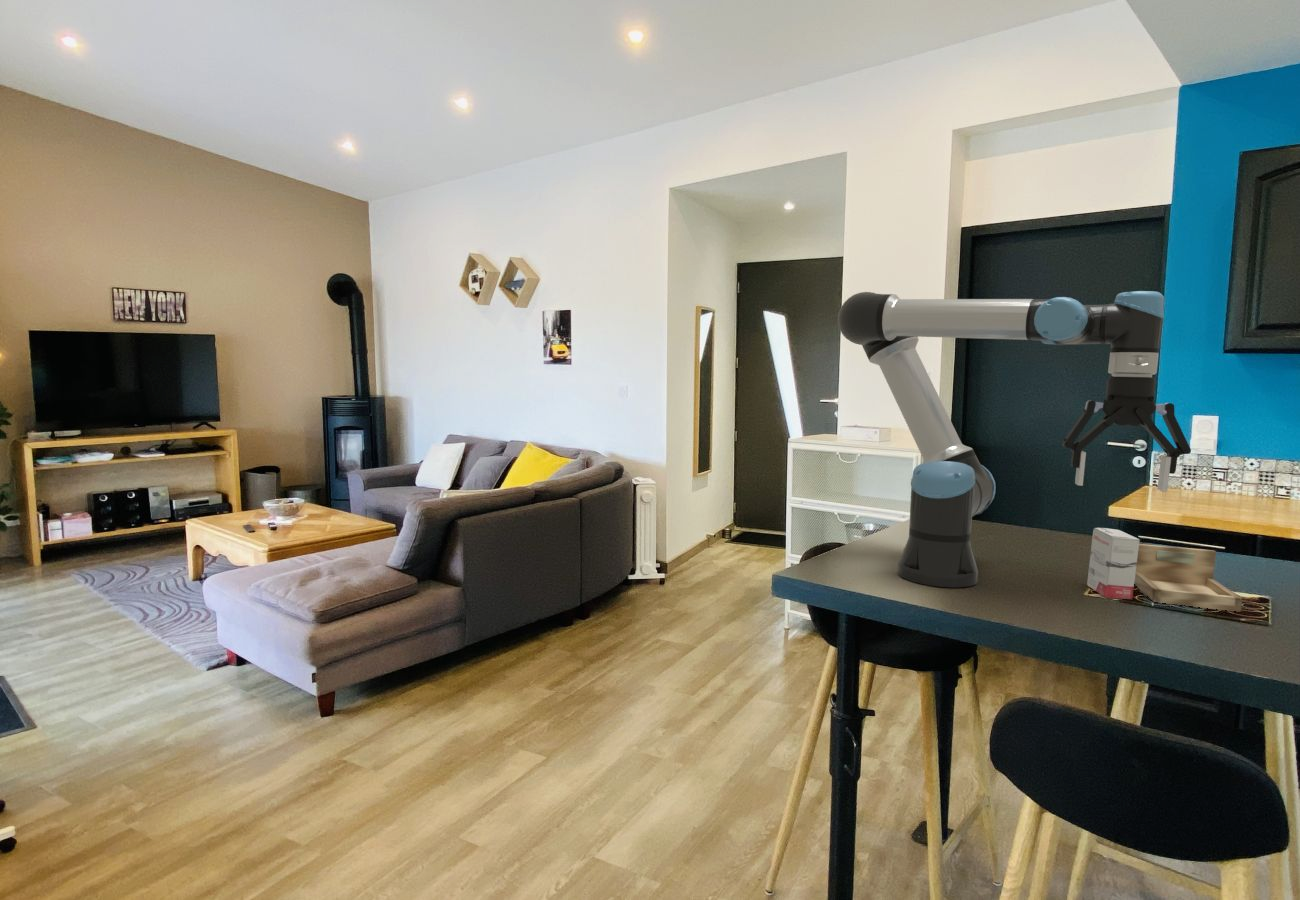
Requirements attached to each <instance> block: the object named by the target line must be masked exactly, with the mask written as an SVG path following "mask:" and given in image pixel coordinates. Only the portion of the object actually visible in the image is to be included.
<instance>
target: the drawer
mask: <svg viewBox="0 0 1300 900" xmlns="http://www.w3.org/2000/svg"><path fill="white" fill-rule="evenodd" d="M1216 555H1217V551H1216V550H1214V549H1203V548H1194V547H1193V548H1192V547H1190V548H1189V547H1180V546H1168V545H1155V544H1145V543H1139V549H1138V557H1137V565H1136V573H1135V582H1134V584H1135V585H1136V586H1137V587H1138V588H1139V589H1138V588H1137V587H1136V586H1135V585H1134V586H1135V587H1136V588H1137V589H1138V590H1139V591H1141V593H1143V595H1144V596H1146V597H1147V596H1148V597H1149V598H1150V599H1151V600H1152V601H1153V602H1158V603H1157V604H1162V603H1166V604H1165V605H1171V604H1177V605H1176V606H1180V605H1185V606H1184V607H1189V606H1193V607H1192V608H1198V607H1200V609H1207V608H1208V610H1216V609H1217V610H1218V611H1225V610H1227V611H1226V612H1234V611H1236V613H1241V612H1242V605H1243V604H1242V603H1243V598H1242V597H1240V596H1239V595H1237V594H1236V593H1235V592H1233V591H1232V590H1231V589H1229V588H1228V587H1225V585H1223V584H1221V583H1220V582H1219V581H1217V580H1215V579H1214V574H1215V563H1216ZM1148 597H1147V598H1148ZM1149 598H1148V599H1149ZM1150 599H1149V600H1150ZM1151 600H1150V601H1151ZM1152 601H1151V602H1152ZM1153 602H1152V603H1153Z"/></svg>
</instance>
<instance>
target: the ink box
mask: <svg viewBox="0 0 1300 900" xmlns="http://www.w3.org/2000/svg"><path fill="white" fill-rule="evenodd" d="M1091 538H1092V539H1091V547H1090V555H1089V565H1088V572H1087V573H1088V575H1087V580H1086V581H1087V583H1086V585H1087V587H1089V588H1091V589H1092V590H1093V591H1095V592H1097V593H1098V594H1100V595H1101V596H1102V597H1104V598H1106V599H1107V598H1108V599H1122V600H1133V597H1134V591H1135V590H1134V587H1135V585H1134V582H1135V573H1136V565H1137V557H1138V549H1139V544H1140V541H1141V540H1140V538H1137V537H1135V536H1133V535H1131V534H1128V533H1127V532H1124V531H1122V530H1120V529H1114V528H1108V527H1094V528H1093V531H1092V537H1091Z"/></svg>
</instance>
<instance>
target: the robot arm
mask: <svg viewBox="0 0 1300 900" xmlns="http://www.w3.org/2000/svg"><path fill="white" fill-rule="evenodd" d="M1164 305H1165V297H1164V295H1163V294H1162V293H1161V292H1159V291H1153V290H1151V291H1150V290H1148V291H1147V290H1146V291H1145V290H1136V291H1125V292H1120V293H1118V294H1117V295H1116V296H1115V299H1114V301H1113V303H1109V304H1108V303H1107V304H1106V303H1105V304H1082V303H1081V302H1080V301H1079V300H1077V299H1074V298H1072V297H1067V296H1056V297H1053V298H1039V299H1038V298H1035V299H1033V298H951V299H950V298H942V299H941V298H935V299H934V298H933V299H932V298H930V299H929V298H928V299H927V298H910V299H908V298H906V299H904V298H900V297H899V296H898V295H897V294H893V293H892V294H891V293H887V294H886V293H875V292H871V291H863V292H861V291H860V292H858V293H856V294H853V295H851V296H850V297H848V298H847V299H846V300H845V301H844V303H843V304H842V305H841V306H840V308H839V309H840V310H839V311H838V316H837V325H838V328H839V329H838V330H839V331H840V333H841V334H842V336H843V337H844V338H845V339H847V340H848V341H849V342H850V343H852V344H855V345H861V346H862V348H863V351H864V353H865V355H866V357H867V359H868V361H869V363H871V364H873V365H876V366H879V369H880V370H881V372H882V375H883V377H884V379H885V381H886V383H887V386H888V387H889V389H890V392H891V393H892V395H893V398H894V400H895V402H896V404H897V406H898V408H899V411H900V412H901V415H902V417H903V419H904V421H905V423H906V426H907V427H908V430H909V431H910V435H911V436H912V438H913V440H914V441H915V445H916V446H917V448H918V451H919V452H920V454H921V457H922V459H923V461H922V463H920V464H918V465H917V466H915V467H914V469H913V470H912V478H911V480H910V488H911V489H910V490H911V491H910V508H909V510H910V512H909V528H908V529H909V531H908V532H909V533H908V539H907V541H906V543H905V546H904V548H903V551H902V553H901V556H900V558H899V561H898V566H897V572H898V573H897V574H898V575H899V576H900V577H902V578H903V579H906V580H908V581H909V582H914V583H918V584H922V585H926V586H931V587H938V588H939V587H940V588H968V587H972V586H975V585H976V584H977V583H978V581H979V569H978V567H977V563H976V560H975V557H974V553H973V549H972V545H971V535H972V521H973V517H975V516H977V515H980V514H982V513H983V512H984V511H986V510H987V509H988V507H989V506H990V505H991V503H992V502H993V500H994V499H995V495H996V481H995V478H994V477H993V474H992V473H991V472H990V470H989V469H987V467H985V466H984V465H982V464H981V463H980V461H979V459H978V457H977V454H976V453H975V451H974V449H973V448H972V447H970V446H967V445H965V444H963V443H962V440H961V439H960V437H959V434H958V433H957V431H956V429H955V427H954V424H953V423H952V420H951V419H950V417H949V415H948V412H947V411H946V408H945V406H944V405H943V402H942V399H941V398H940V396H939V394H938V392H937V390H936V388H935V386H934V384H933V382H932V380H931V378H930V376H929V374H928V372H927V369H926V368H925V365H924V363H923V361H922V360H921V357H920V355H919V353H918V350H917V349H916V348H917V345H918V342H919V337H920V338H924V337H925V338H948V339H949V338H955V339H958V338H959V339H990V340H991V339H992V340H993V339H994V340H1019V341H1020V340H1021V341H1022V340H1023V341H1024V340H1025V341H1029V340H1030V341H1040V342H1041V343H1042V344H1045V345H1055V346H1063V345H1098V344H1099V345H1110V350H1109V351H1110V352H1109V360H1108V368H1107V373H1108V374H1109V375H1110V374H1111V376H1108V378H1107V380H1106V388H1105V398H1104V400H1103V402H1100V401H1095V400H1093V399H1092V400H1091V399H1088V400H1086V401H1085V403H1084V407H1083V411H1082V413H1080V415H1079V416H1078V418H1077V420H1076V421H1075V423H1074V424H1073V426H1072V427H1071V428H1070V429H1069V431H1068V433H1067V435H1065V437H1064V438H1063V440H1062V442H1061V445H1062V447H1065V448H1067V449H1070V450H1071V459H1070V460H1071V461H1070V465H1071V467H1072V468H1075V470H1076V471H1075V478H1074V484H1075V485H1076V486H1081V487H1082V486H1084V477H1085V468H1086V457H1087V452H1086V451H1083V449H1084V448H1086V447H1087V446H1089V444H1091V443H1092V442H1093V441H1094V440H1095V439H1096V438H1097V437H1098V436H1100V434H1103V432H1104V431H1105V430H1106V429H1108V428H1109V427H1110V426H1112V425H1116V426H1131V427H1139V426H1141V427H1143V428H1144V429H1145V430H1146V431H1147V433H1148V434H1149V435H1150V436H1151V438H1152V439H1153V440H1154V441H1155V442H1156V443H1157V445H1159V447H1160V448H1161V449H1162V450H1163V452H1164V453H1165V454H1166V455H1165V454H1164V455H1163V454H1162V455H1160V463H1159V471H1158V478H1157V480H1158V481H1157V490H1158V491H1160V492H1164V493H1165V492H1166V493H1167V492H1168V489H1169V479H1170V474H1173V475H1175V473H1176V472H1177V471H1176V470H1177V465H1178V464H1177V463H1178V458H1179V457H1180V456H1182V455H1188V454H1191V451H1192V449H1191V448H1190V445H1189V443H1188V441H1187V439H1186V436H1185V435H1184V433H1183V430H1182V428H1181V426H1180V424H1179V422H1178V420H1177V417H1176V415H1175V404H1174V403H1171V402H1164V403H1158V404H1157V403H1155V393H1156V383H1157V379H1156V378H1155V377H1153V375H1156V374H1157V373H1158V365H1159V352H1160V347H1161V337H1162V331H1163V323H1164V311H1165V310H1164V308H1165V306H1164ZM1100 409H1101V410H1102V411H1103V413H1104V414H1105V415H1104V416H1103V417H1102V418H1101V419H1100V420H1099V421H1098V423H1096V424H1095V425H1094V426H1093V427H1092V428H1091V429H1090V430H1088V431H1086V433H1085V434H1084V435H1083V436H1082V437H1080V438H1079V439H1078V440H1077V441H1076V439H1077V438H1078V437H1079V436H1080V434H1081V433H1082V432H1083V430H1084V428H1085V427H1086V426H1087V425H1088V423H1089V421H1090V420H1091V418H1092V417H1093V415H1094V413H1097V412H1098V411H1099V410H1100ZM1156 411H1157V413H1158V414H1159V415H1160V416H1162V419H1163V422H1164V423H1165V425H1166V427H1167V430H1168V432H1169V433H1170V437H1171V438H1172V440H1173V442H1174V445H1175V446H1174V445H1173V443H1171V442H1170V440H1169V439H1167V437H1166V436H1165V434H1164V433H1163V432H1162V431H1161V430H1160V429H1159V428H1158V426H1156V424H1155V422H1154V421H1153V419H1152V418H1151V416H1152V414H1154V413H1155V412H1156Z"/></svg>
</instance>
